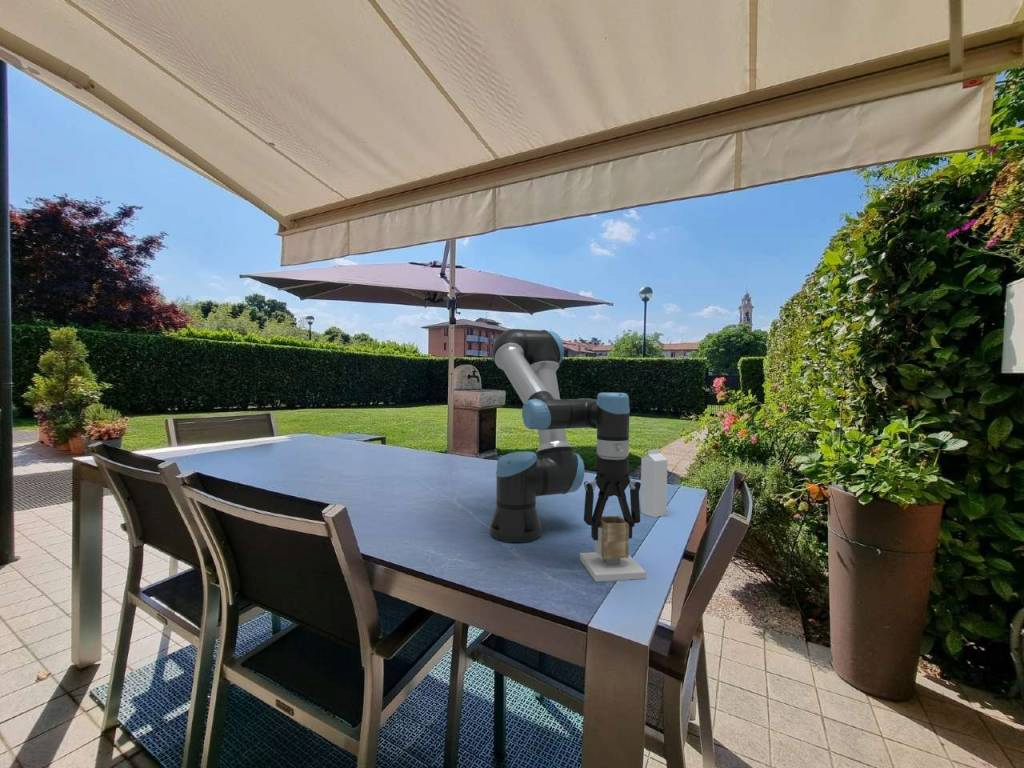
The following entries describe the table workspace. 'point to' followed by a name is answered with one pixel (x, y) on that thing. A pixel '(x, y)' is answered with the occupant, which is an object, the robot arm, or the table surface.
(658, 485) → the milk
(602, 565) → the post board
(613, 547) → the collar
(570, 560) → the table surface
